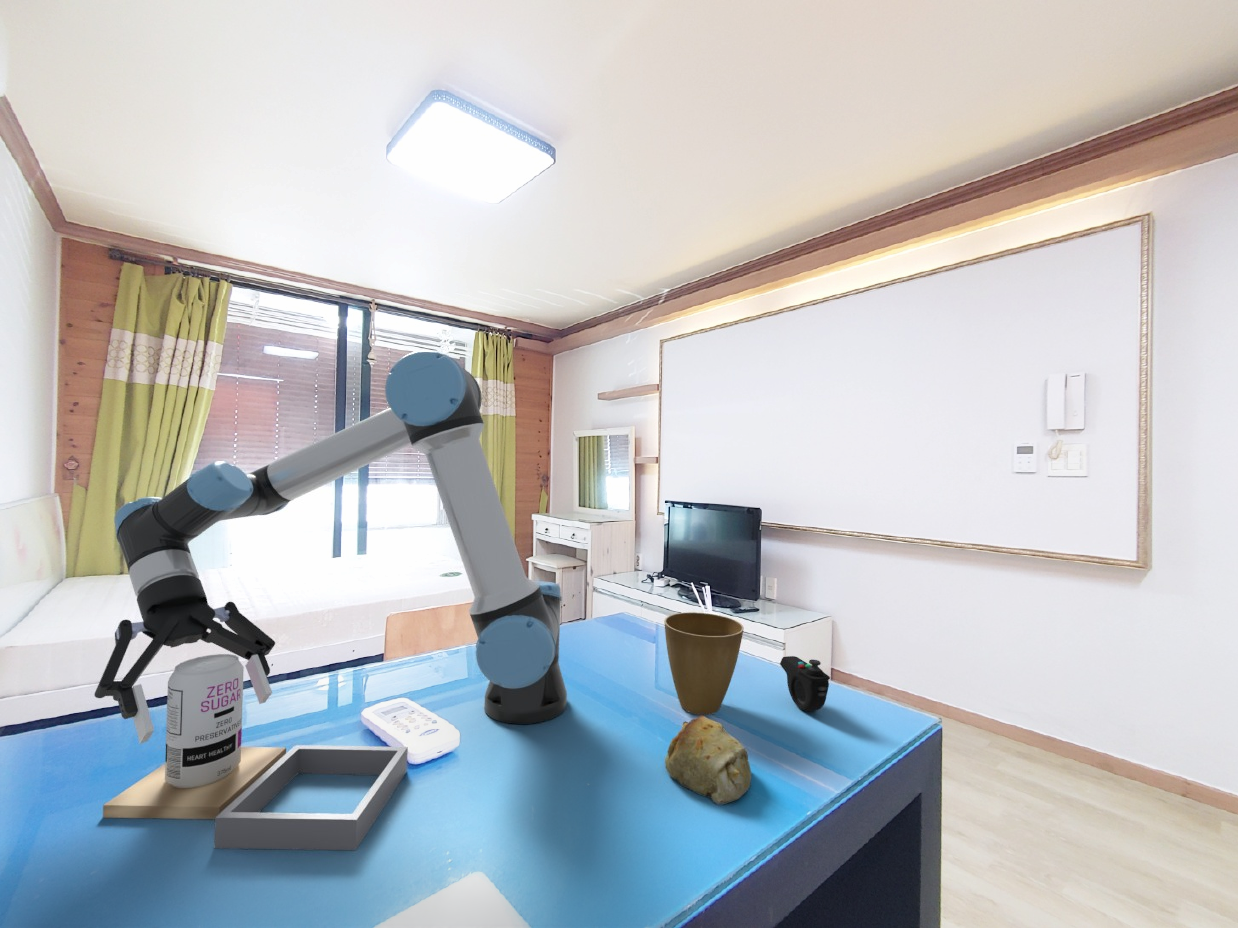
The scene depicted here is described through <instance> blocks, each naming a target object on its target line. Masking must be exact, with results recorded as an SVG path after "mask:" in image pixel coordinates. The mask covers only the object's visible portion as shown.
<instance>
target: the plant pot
mask: <svg viewBox="0 0 1238 928" xmlns="http://www.w3.org/2000/svg"><path fill="white" fill-rule="evenodd" d="M663 624H664V633H665V644H666V650H667V656H668V657H667V658H668V663H669V667H670V672H671V677H672V680H673V684H674V688H675V691H676V695H677V698H678V702H679V704H680V707H681V708H682V709H683V710H684V711H685V712H688V713H690V712H691V714H693V713H694V714H695V715H699V714H700V716H701V715H702V716H709V714H710V715H714V714H716V713H717V712H719V711H720V708H721V706H722V704H723V701H724V699H725V696H726V694H727V692H728V689H729V686H730V684H731V682H732V679H733V675H734V672H735V668H736V666H737V662H738V658H739V654H740V648H741V644H742V640H743V639H742V638H743V634H744V626H743V624H742V623H740V622H739V621H737V620H735V619H733V618H731V617H727V616H723V615H720V614H719V615H718V614H713V613H707V612H695V611H691V612H689V611H688V612H678V613H673V614H670V615H668V616H666V617H665V618H664V623H663Z"/></svg>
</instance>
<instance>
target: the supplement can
mask: <svg viewBox="0 0 1238 928" xmlns="http://www.w3.org/2000/svg"><path fill="white" fill-rule="evenodd" d="M239 658H240V656H238V655H236V654H235V655H234V654H230V653H228V654H227V653H218V654H217V653H216V654H208V655H204V656H203V655H202V656H197V657H194V658H190V659H188V660H184V661H183V662H180V663H179V664H177V665H175V667H174V671H172V673H171V675H170V677H169V678H168V681H167V695H166V696H167V701H166V702H167V703H166V730H165V731H166V732H165V734H166V736H165V757H164V758H165V760H164V761H165V762H164V764H165V780H166V781H167V782H168V784H172V785H173V786H174V787H178V788H194V787H199V786H204V785H207V784H210V783H213V782H216V781H218V780H220V779H222V778H224V777H226V776H227V775H228V774H230V773H231V772H232V771H233V770H234V769H235V768H236V767H237V766H238V764H239V763H240V762H241V747H242V735H243V733H242V732H243V731H242V728H243V705H244V704H243V703H244V701H243V699H244V698H243V696H244V671H245V670H244V668H245V667H244V665H243V664H242V663H241V661H240V659H239Z"/></svg>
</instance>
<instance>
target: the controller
mask: <svg viewBox="0 0 1238 928" xmlns="http://www.w3.org/2000/svg"><path fill="white" fill-rule="evenodd" d="M821 664H822V663H821V661H820V660H817V659H809V660H808V663H807V662H806V661H804V660H803V659H802V658H799V657H797V656H794V655H791V656H790V655H789V656H782V658H781V660H780V662H779V665H780V667H781V668H782V670H784V672H785V674H786V679H787V680H786V681H787V689H788V691H789V694H790V695H789V696H790V697H791V699H792V701H793V703H794V704H795V705H796V707H798V708H799V709H801V710H802V711H804V712H815V711H816V712H817V711H818V710H819V711H820V710H821V708H823V707H824V705H825V702H826V700H827V696H828V691H829V686H830V683H829V681H830V679H831V677H830V676H829V675H828V674H827V673H825V672H824V671H823V669H821V667H820V665H821Z"/></svg>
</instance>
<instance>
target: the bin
mask: <svg viewBox="0 0 1238 928" xmlns="http://www.w3.org/2000/svg"><path fill="white" fill-rule="evenodd" d="M408 751H409V750H408V746H376V745H375V746H372V745H370V746H368V745H367V746H366V745H365V746H364V745H319V744H317V745H316V744H315V745H314V744H312V745H311V744H295V745H294V746H293V747H292V748H290V750H289V751H286V754H285V755H284V756H283V757H282V758H281V759H280V760H278V761H277V762H276V763H275V764H274V765H273V766H272V767H271V768H270V769H269V770H267V771H266V772H265V773H264V774H263V775H262V776H261V777H260V778H259V779H257V780H256V781H255V782H254V783H253V784H252V785H251V786H250V787H249V788H247V789H246V790H245V791H244V792H243V793H242V794H241V795H240V796H239V797H238V798H236V799H235V800H234V801H233V802H232V803H231V804H230V805H229V806H228V807H226V808H225V809H224V810H223V811H222V812H221V813H220V814H219V815H218V816H216V817H215V819H214V845H213V849H235V850H236V849H238V850H239V849H240V850H241V849H243V850H244V849H245V850H246V849H247V850H249V849H250V850H256V849H257V850H315V851H316V850H317V851H318V850H320V851H322V850H323V851H324V850H328V851H330V850H331V851H356V850H357V849H358V847H359V846H360V844H361V843H362V841H363V840H364V838H365V836H366V835H367V834H368V832H369V830H370V829H371V827H372V826H373V824H374V823H375V821H376V819H377V818H378V816H379V815H380V813H381V812H382V810H383V809H384V808H385V806H386V804H387V803H388V801H389V799H390V798H391V797H392V795H393V793H394V792H395V790H396V789H397V788H398V786H399V784H400V782H401V781H402V779H403V778H404V776H405V775H406V773H407V771H408ZM299 774H305V775H306V774H309V775H310V774H314V775H316V774H317V775H319V774H320V775H367V776H368V775H369V776H370V775H371V776H373V775H375V776H377V775H378V777H377V779H376V780H375V781H374V783H373V784H372V785H371V787H370V788H369V790H368V791H367V793H366V794H365V795H364V797H363V798H362V800H360V801H359V803H358V804H357V806H356V807H355V809H354V811H353V812H352V813H317V812H316V813H313V812H261V811H262V810H263V809H264V808H265V807H266V806H267V805H268V804H269V803H270V802H271V801H272V800H273V799H274V798H275V797H276V796H277V795H278V794H279V793H280V792H281V791H283V789H284V788H285V787H286V786H287V785H288V784H290V782H291V781H292V780H293V779H294V778H295V777H296V776H297V775H299Z"/></svg>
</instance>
